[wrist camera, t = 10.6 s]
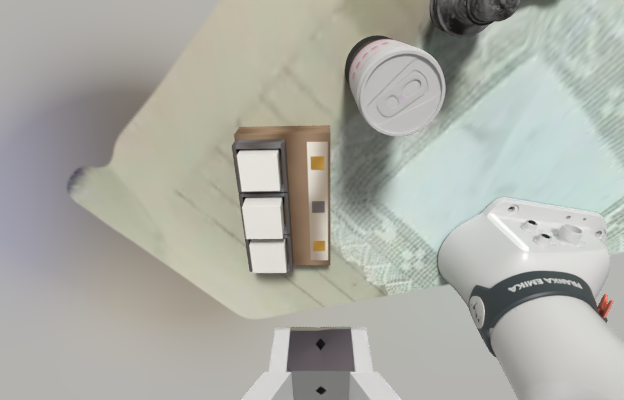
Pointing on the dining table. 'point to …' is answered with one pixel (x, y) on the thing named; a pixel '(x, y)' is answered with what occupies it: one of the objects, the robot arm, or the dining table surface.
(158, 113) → the dining table surface
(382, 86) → the beverage can
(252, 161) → the button near
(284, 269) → the button far
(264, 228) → the button middle
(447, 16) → the grey tiered upright piece
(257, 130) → the button board
